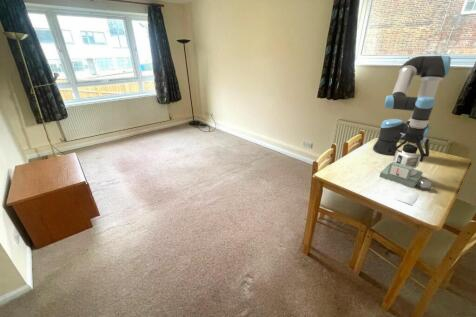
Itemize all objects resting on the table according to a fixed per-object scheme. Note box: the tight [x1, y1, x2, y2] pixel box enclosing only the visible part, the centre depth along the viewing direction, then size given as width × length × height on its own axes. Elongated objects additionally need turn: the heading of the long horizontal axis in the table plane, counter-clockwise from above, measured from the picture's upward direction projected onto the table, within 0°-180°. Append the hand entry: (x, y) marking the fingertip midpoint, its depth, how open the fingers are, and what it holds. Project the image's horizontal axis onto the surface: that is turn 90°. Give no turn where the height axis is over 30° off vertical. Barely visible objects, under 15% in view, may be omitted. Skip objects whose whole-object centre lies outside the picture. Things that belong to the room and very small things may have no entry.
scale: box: [379, 161, 424, 188], centre depth 130 cm, size 18×17×10 cm
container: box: [393, 143, 420, 169], centre depth 128 cm, size 8×8×13 cm
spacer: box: [416, 178, 432, 192], centre depth 121 cm, size 5×5×4 cm
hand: (405, 162), depth 130 cm, fingers closed on container, 10 cm apart
